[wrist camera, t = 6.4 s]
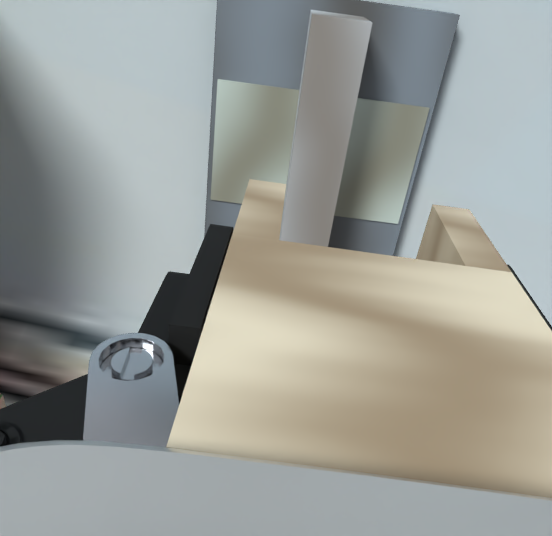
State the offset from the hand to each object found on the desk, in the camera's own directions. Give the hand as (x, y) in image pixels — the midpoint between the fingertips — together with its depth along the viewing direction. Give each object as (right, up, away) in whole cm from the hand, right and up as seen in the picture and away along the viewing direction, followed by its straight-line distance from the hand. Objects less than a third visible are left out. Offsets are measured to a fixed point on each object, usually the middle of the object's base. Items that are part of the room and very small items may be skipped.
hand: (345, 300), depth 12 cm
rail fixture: (-1, +1, +13) cm, 13 cm away
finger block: (0, +1, +1) cm, 1 cm away
